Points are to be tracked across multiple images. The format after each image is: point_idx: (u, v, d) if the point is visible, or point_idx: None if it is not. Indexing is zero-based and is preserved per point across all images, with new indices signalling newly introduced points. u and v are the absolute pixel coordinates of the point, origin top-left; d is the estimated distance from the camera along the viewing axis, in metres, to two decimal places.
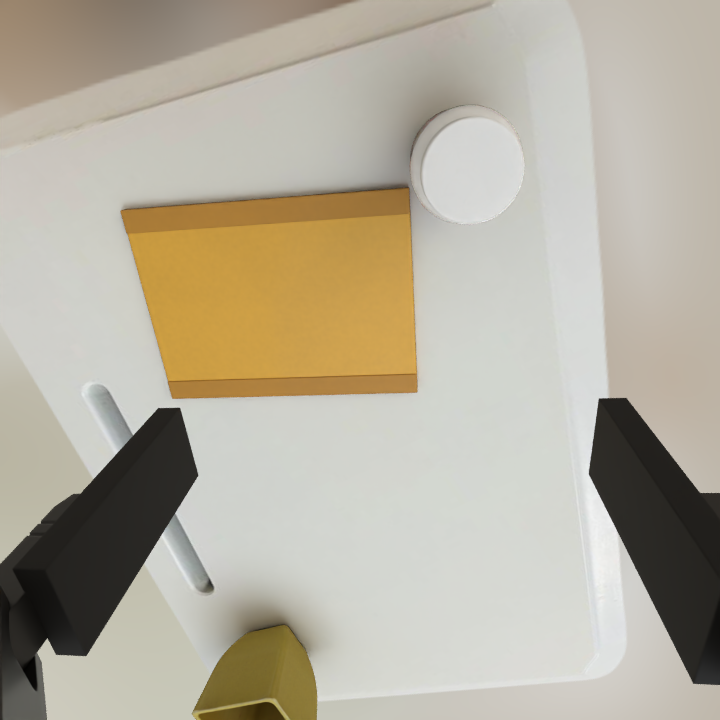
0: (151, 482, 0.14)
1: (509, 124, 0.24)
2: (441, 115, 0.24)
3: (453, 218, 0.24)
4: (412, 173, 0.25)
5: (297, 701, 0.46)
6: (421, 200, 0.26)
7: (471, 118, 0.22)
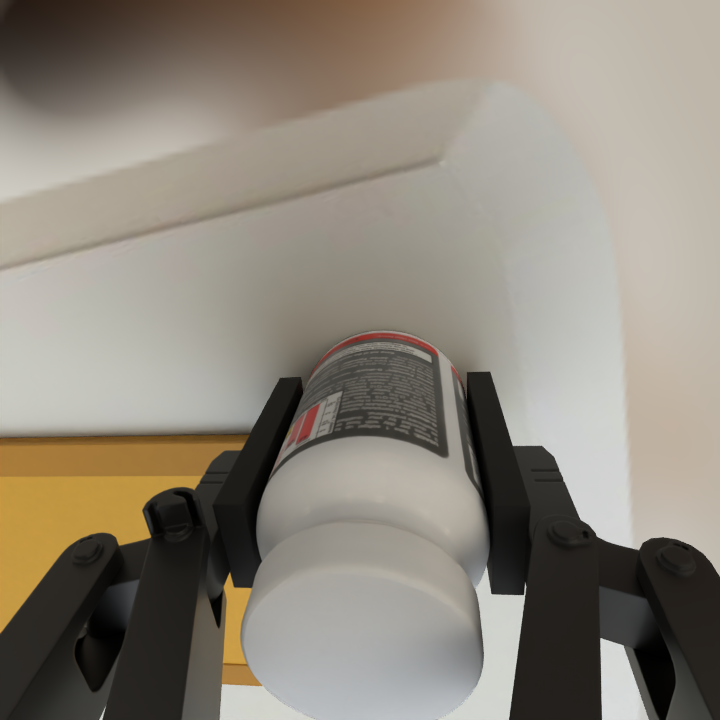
0: None
1: (456, 490, 0.11)
2: (306, 463, 0.11)
3: None
4: None
5: None
6: None
7: (344, 572, 0.08)
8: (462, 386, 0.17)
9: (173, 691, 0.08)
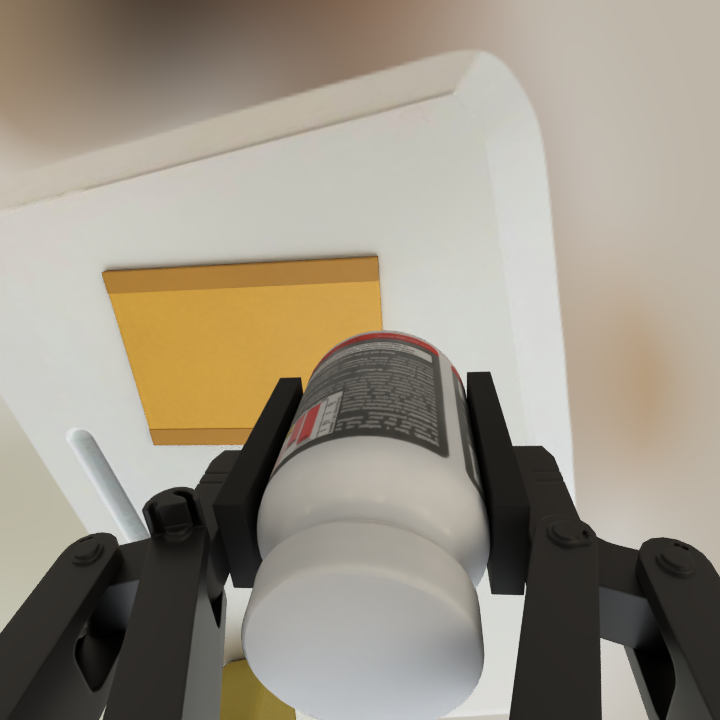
0: None
1: (456, 490, 0.11)
2: (307, 463, 0.11)
3: (326, 719, 0.10)
4: None
5: None
6: None
7: (345, 572, 0.08)
8: (462, 386, 0.17)
9: (173, 691, 0.08)
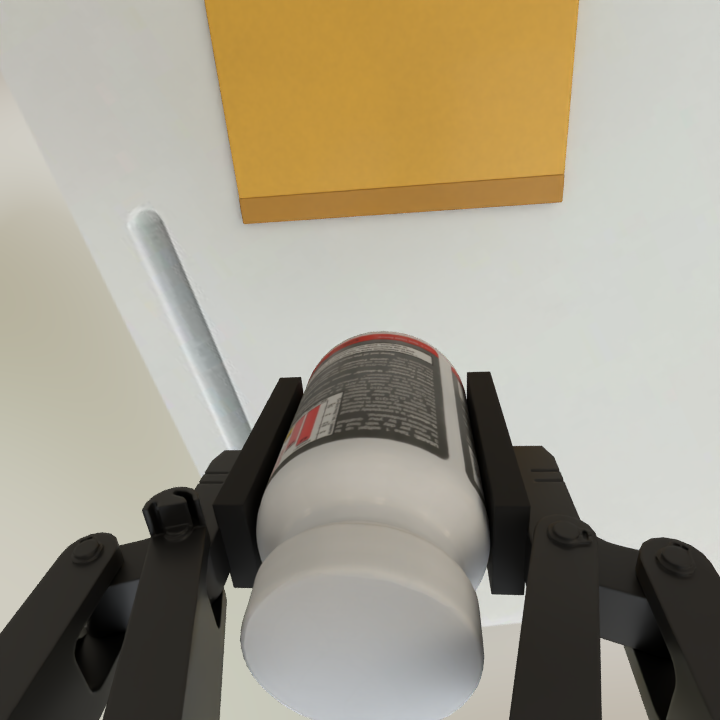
0: None
1: (456, 492, 0.11)
2: (306, 465, 0.11)
3: None
4: (259, 552, 0.12)
5: None
6: None
7: (344, 574, 0.08)
8: (462, 387, 0.17)
9: (172, 692, 0.08)
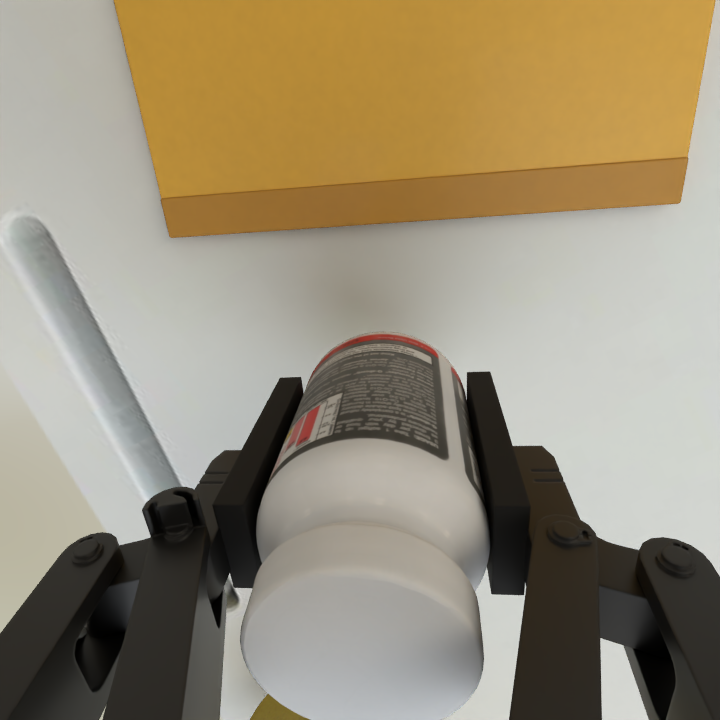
0: None
1: (456, 492, 0.11)
2: (306, 466, 0.11)
3: None
4: None
5: None
6: None
7: (344, 575, 0.08)
8: (462, 387, 0.17)
9: (173, 691, 0.08)
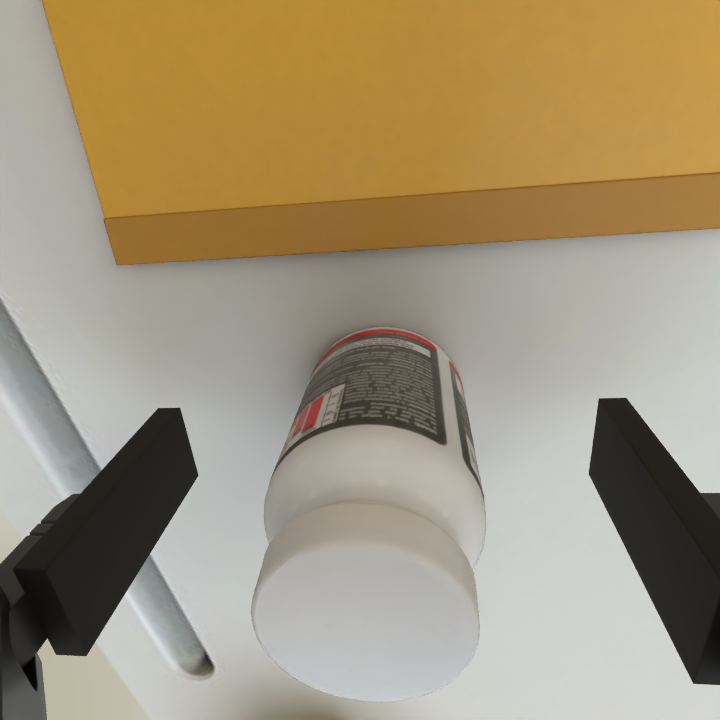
0: (151, 482, 0.14)
1: (454, 475, 0.11)
2: (312, 450, 0.12)
3: (330, 691, 0.11)
4: None
5: None
6: None
7: (349, 548, 0.09)
8: (460, 380, 0.17)
9: None
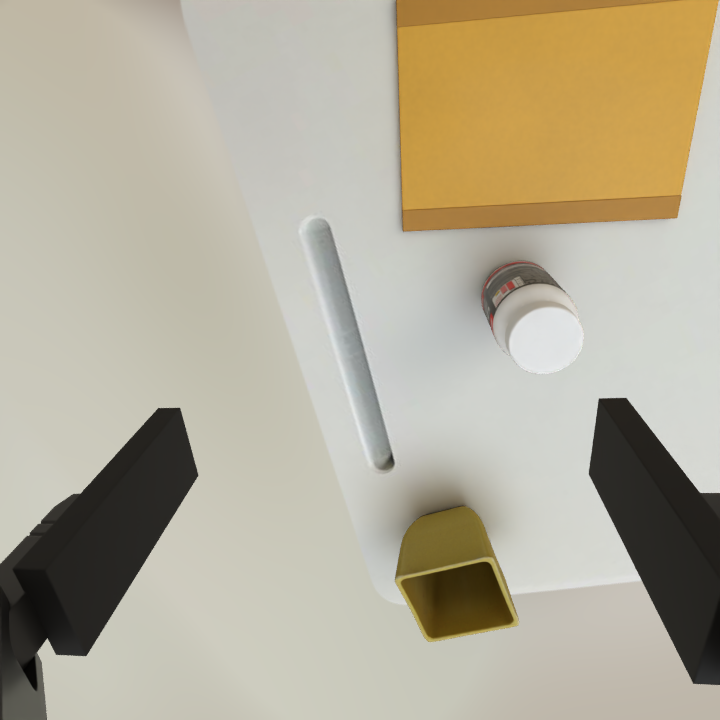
0: (151, 482, 0.14)
1: (570, 300, 0.33)
2: (520, 291, 0.33)
3: (529, 370, 0.32)
4: (495, 328, 0.34)
5: (500, 571, 0.44)
6: (500, 346, 0.35)
7: (548, 308, 0.31)
8: None
9: None
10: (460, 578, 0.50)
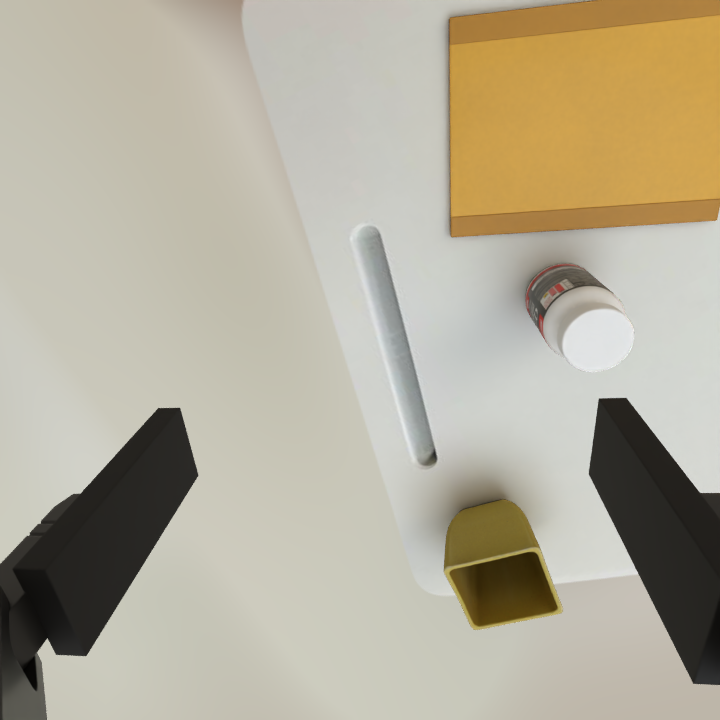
0: (151, 482, 0.14)
1: (618, 301, 0.35)
2: (571, 294, 0.35)
3: (581, 368, 0.34)
4: (546, 329, 0.36)
5: None
6: (550, 345, 0.36)
7: (601, 309, 0.32)
8: None
9: None
10: (501, 569, 0.51)
